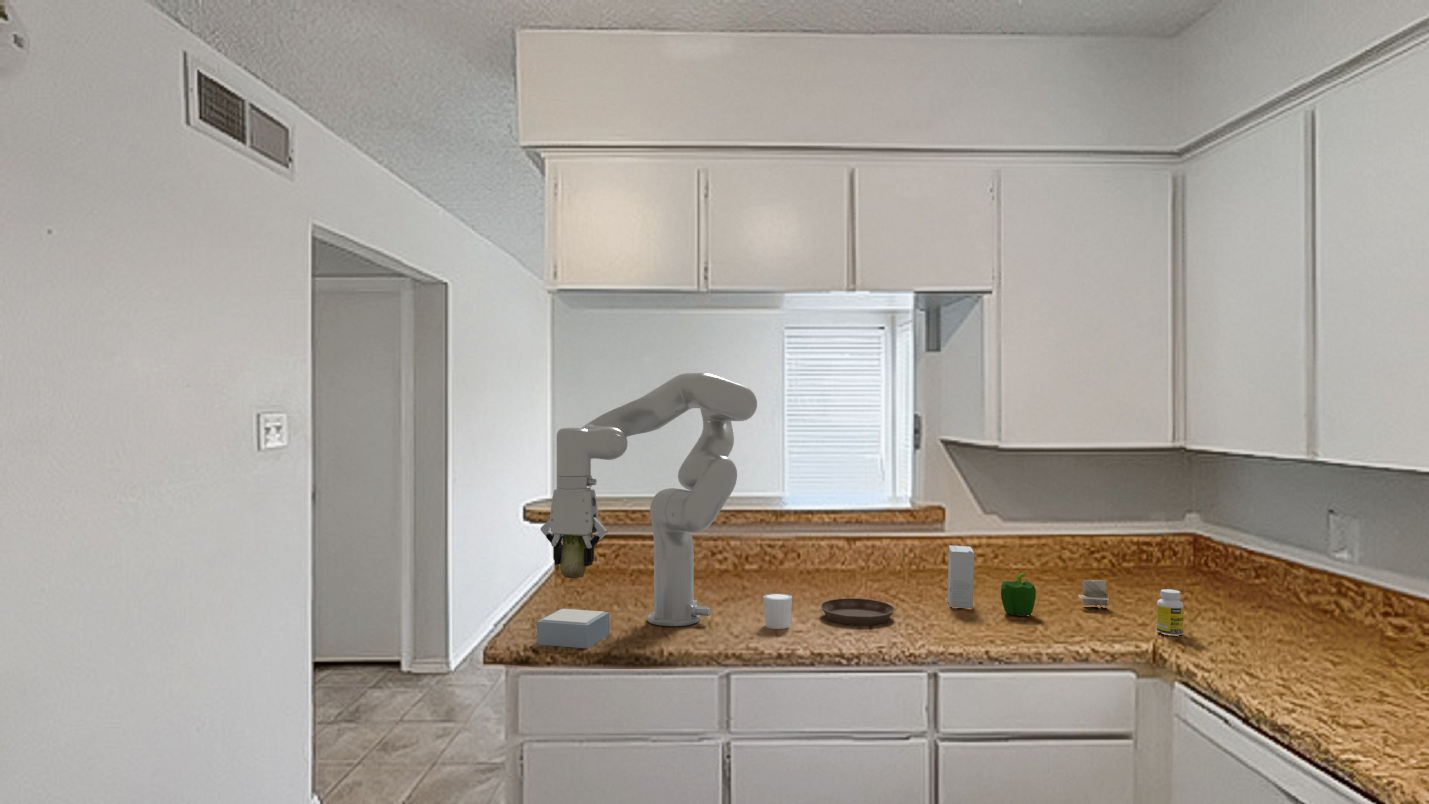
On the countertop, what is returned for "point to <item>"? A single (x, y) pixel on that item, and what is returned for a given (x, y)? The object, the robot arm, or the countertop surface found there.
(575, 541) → the fennel bulb
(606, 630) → the base block
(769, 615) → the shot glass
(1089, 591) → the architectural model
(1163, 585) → the countertop surface
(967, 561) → the skincare box
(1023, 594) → the bell pepper
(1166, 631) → the supplement bottle
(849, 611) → the plant saucer
